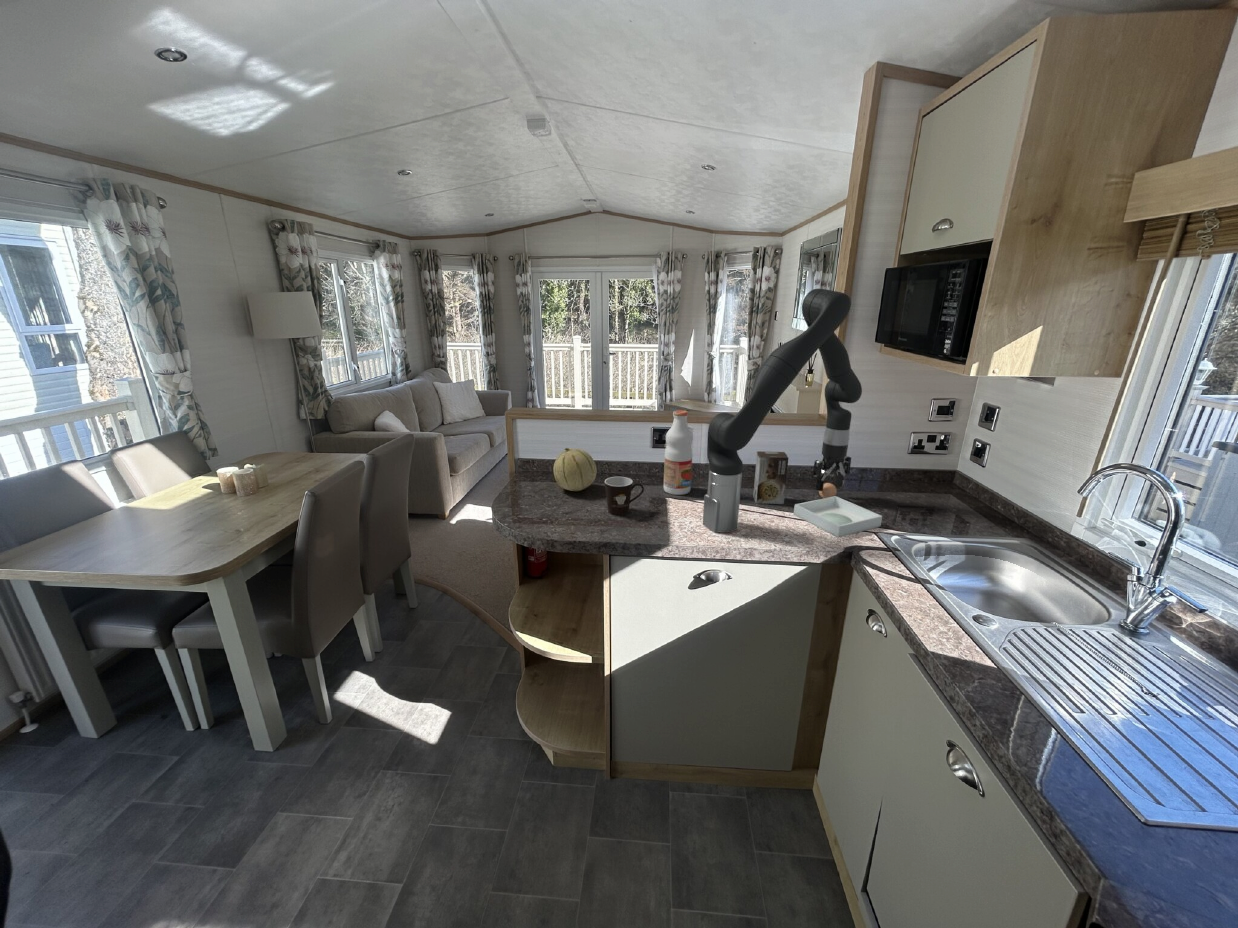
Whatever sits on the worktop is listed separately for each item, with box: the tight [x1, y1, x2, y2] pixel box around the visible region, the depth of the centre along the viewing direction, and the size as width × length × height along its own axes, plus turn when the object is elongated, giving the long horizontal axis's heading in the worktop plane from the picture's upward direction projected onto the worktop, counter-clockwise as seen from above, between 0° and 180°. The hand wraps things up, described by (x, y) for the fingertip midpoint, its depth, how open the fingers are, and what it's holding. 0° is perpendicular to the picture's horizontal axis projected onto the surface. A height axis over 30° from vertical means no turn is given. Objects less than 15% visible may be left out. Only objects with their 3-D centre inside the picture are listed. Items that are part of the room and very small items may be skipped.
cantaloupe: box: [552, 447, 598, 492], centre depth 171 cm, size 15×15×15 cm
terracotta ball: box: [818, 482, 838, 499], centre depth 166 cm, size 6×6×6 cm
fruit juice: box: [663, 409, 694, 496], centre depth 169 cm, size 9×9×28 cm
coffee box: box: [752, 450, 789, 505], centre depth 163 cm, size 9×6×16 cm
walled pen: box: [793, 496, 883, 538], centre depth 150 cm, size 17×17×3 cm
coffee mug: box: [604, 476, 645, 516], centre depth 154 cm, size 12×9×10 cm
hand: (829, 488), depth 166 cm, fingers open, 8 cm apart
